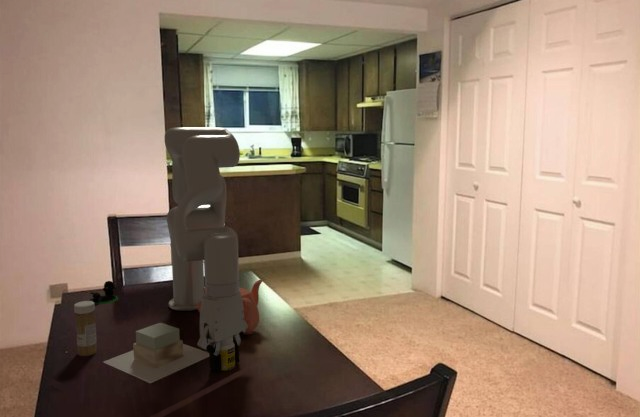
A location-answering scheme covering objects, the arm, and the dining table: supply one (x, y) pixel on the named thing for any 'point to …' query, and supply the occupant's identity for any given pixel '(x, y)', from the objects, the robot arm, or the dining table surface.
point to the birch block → (158, 354)
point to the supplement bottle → (227, 354)
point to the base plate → (152, 374)
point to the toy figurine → (105, 298)
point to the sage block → (157, 336)
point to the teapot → (248, 306)
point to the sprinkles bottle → (85, 328)
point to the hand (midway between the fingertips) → (224, 364)
